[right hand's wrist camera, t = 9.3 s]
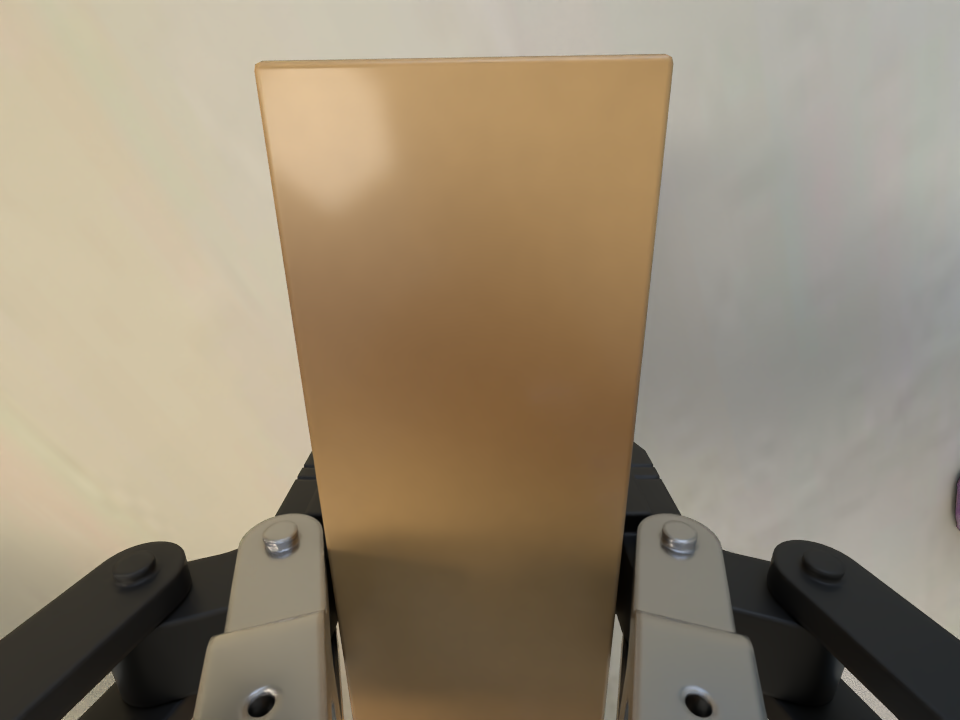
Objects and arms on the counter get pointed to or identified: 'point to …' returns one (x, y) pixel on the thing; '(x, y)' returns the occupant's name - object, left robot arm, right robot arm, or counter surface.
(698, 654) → the right robot arm
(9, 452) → the counter surface
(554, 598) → the post
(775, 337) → the counter surface
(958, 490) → the figurine
